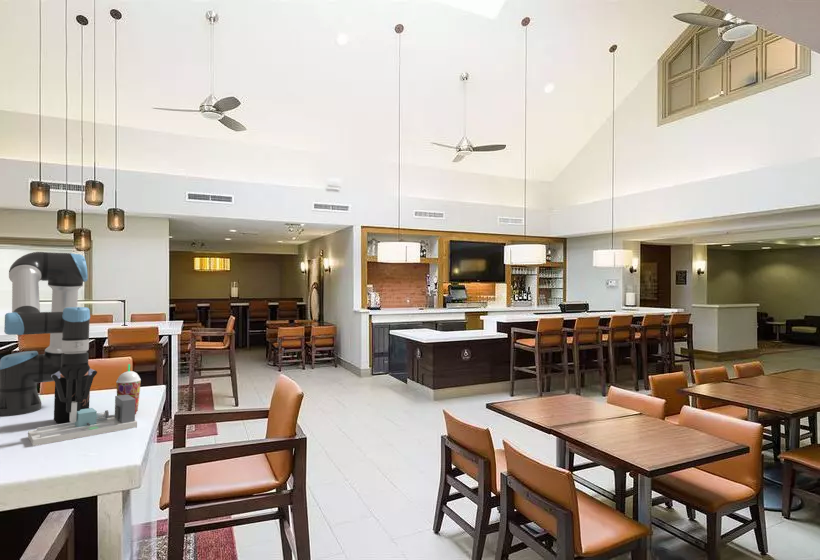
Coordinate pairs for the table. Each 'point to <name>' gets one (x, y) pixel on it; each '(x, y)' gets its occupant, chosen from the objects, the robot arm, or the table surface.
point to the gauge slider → (89, 417)
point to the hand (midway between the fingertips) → (72, 421)
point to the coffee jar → (60, 407)
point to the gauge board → (103, 425)
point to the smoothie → (129, 385)
